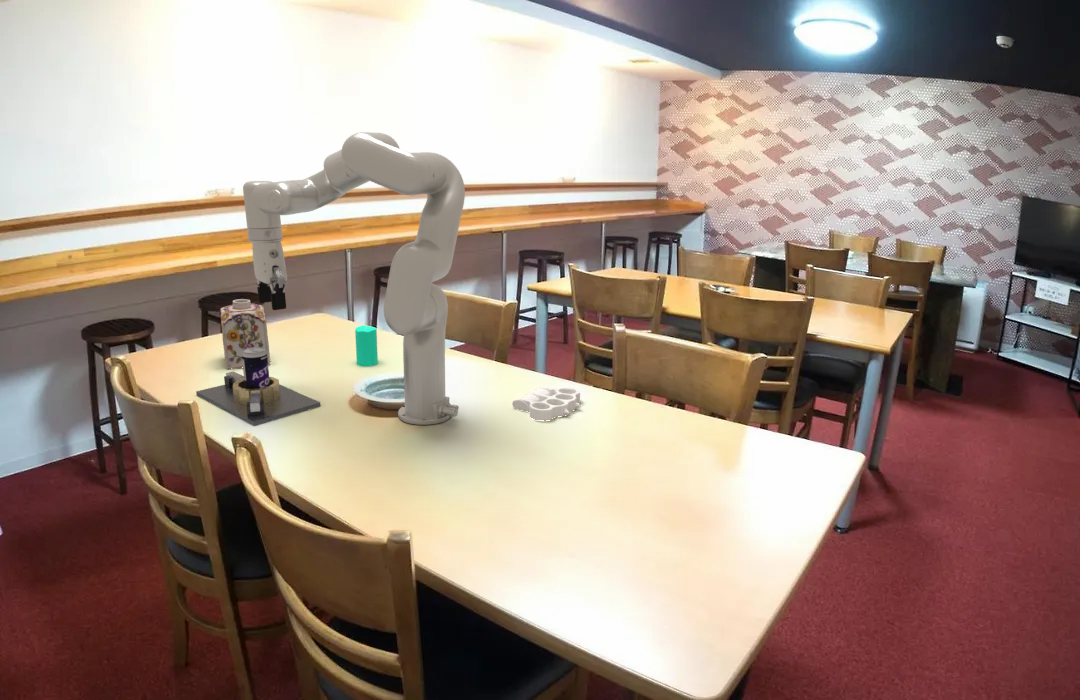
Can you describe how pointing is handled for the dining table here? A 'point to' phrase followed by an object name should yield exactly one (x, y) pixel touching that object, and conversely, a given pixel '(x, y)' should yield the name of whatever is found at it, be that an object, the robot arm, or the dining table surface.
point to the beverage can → (255, 368)
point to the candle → (366, 345)
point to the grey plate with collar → (256, 400)
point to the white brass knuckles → (549, 402)
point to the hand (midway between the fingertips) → (272, 305)
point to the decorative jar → (243, 330)
